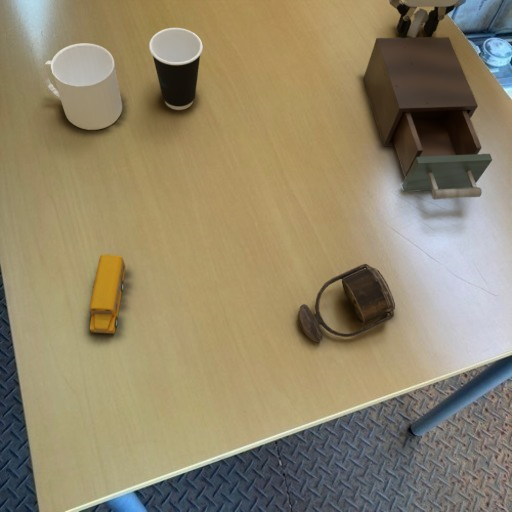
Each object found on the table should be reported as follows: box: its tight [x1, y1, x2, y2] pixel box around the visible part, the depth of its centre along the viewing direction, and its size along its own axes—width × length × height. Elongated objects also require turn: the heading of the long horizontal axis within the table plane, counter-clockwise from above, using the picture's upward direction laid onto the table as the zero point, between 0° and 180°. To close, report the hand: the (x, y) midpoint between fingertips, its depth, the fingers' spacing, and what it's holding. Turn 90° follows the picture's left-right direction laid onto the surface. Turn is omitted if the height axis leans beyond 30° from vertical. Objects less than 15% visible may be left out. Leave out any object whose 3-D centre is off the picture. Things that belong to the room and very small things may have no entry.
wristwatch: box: [406, 7, 429, 38], centre depth 102 cm, size 3×5×5 cm, turn 151°
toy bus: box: [89, 254, 126, 335], centre depth 71 cm, size 3×10×4 cm, turn 178°
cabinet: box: [363, 36, 479, 147], centre depth 90 cm, size 16×13×9 cm
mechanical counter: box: [298, 263, 396, 343], centre depth 71 cm, size 7×13×10 cm
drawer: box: [392, 110, 493, 200], centre depth 84 cm, size 19×11×7 cm, turn 7°
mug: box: [40, 42, 123, 131], centre depth 85 cm, size 12×9×9 cm
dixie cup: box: [148, 27, 204, 111], centre depth 86 cm, size 8×8×11 cm
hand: (414, 33), depth 104 cm, fingers closed on wristwatch, 4 cm apart
